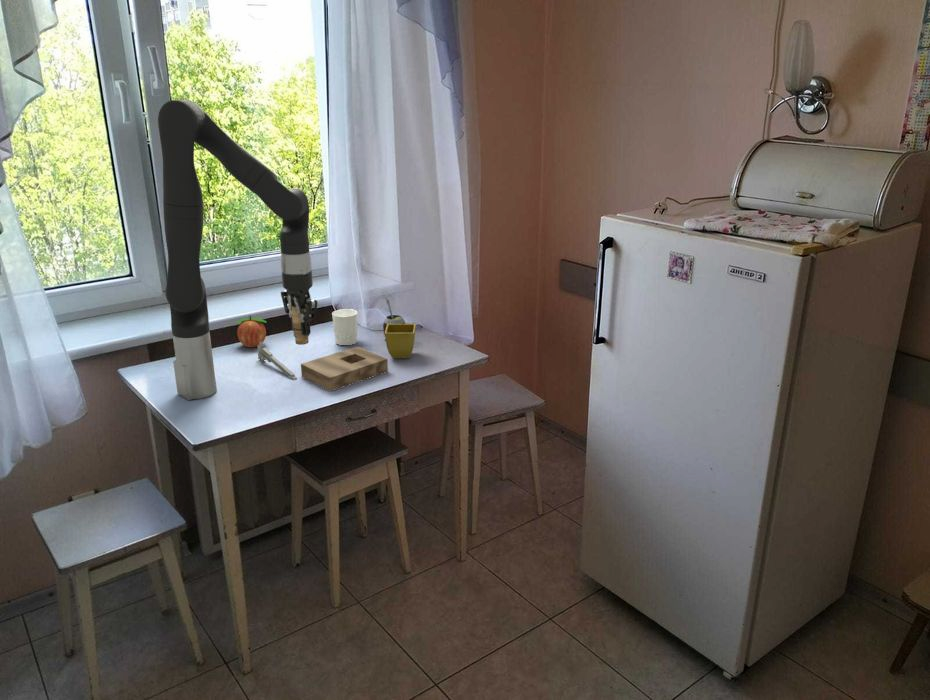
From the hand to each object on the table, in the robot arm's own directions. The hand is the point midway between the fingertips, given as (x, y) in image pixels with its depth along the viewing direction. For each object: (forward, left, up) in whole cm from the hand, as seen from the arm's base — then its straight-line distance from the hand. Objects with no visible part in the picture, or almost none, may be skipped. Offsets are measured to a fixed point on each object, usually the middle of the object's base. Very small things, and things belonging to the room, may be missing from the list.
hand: (301, 332), depth 198 cm
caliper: (+3, +20, -18) cm, 27 cm away
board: (+15, +3, -17) cm, 23 cm away
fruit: (+8, +42, -18) cm, 46 cm away
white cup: (+31, +24, -18) cm, 43 cm away
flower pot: (+36, +3, -18) cm, 40 cm away
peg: (0, 0, -3) cm, 3 cm away
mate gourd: (+43, +15, -18) cm, 49 cm away
